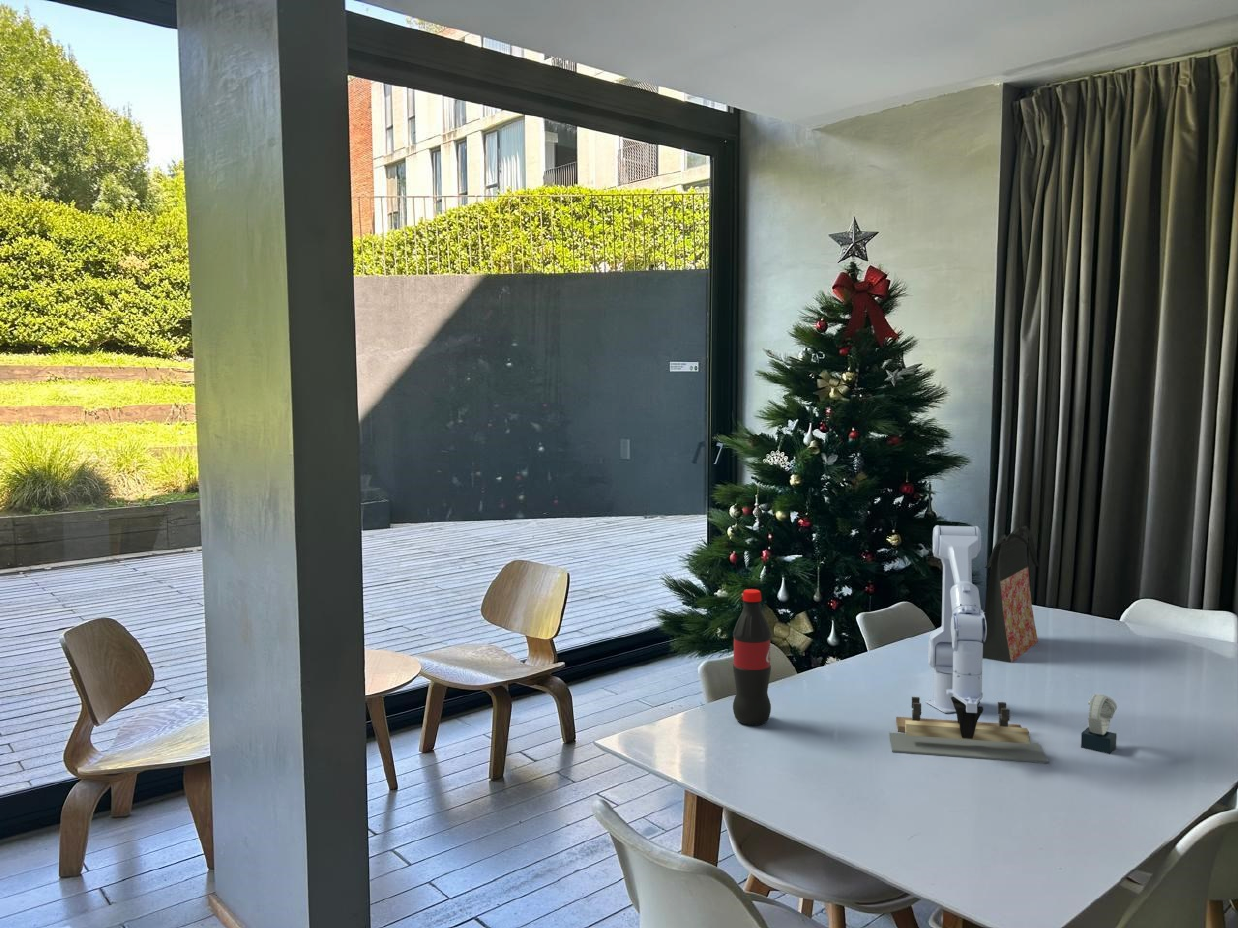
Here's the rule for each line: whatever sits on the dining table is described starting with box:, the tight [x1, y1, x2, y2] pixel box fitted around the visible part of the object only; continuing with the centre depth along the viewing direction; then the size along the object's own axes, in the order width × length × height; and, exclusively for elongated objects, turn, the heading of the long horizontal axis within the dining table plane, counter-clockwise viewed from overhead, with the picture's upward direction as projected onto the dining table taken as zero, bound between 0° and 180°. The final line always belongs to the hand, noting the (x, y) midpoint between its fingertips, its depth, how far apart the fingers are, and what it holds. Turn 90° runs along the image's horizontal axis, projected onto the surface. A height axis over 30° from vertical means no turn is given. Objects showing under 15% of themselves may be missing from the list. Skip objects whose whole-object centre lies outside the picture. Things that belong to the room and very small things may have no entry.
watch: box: [1080, 694, 1118, 755], centre depth 195 cm, size 6×8×11 cm
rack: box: [895, 696, 1023, 733], centre depth 205 cm, size 26×6×6 cm, turn 77°
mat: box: [888, 732, 1050, 764], centre depth 196 cm, size 30×10×1 cm, turn 77°
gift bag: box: [982, 525, 1040, 664], centre depth 267 cm, size 29×14×35 cm, turn 141°
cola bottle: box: [732, 588, 772, 726], centre depth 212 cm, size 8×8×30 cm
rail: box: [904, 720, 1030, 744], centre depth 196 cm, size 24×2×2 cm, turn 77°
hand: (966, 735), depth 196 cm, fingers closed on rail, 2 cm apart
